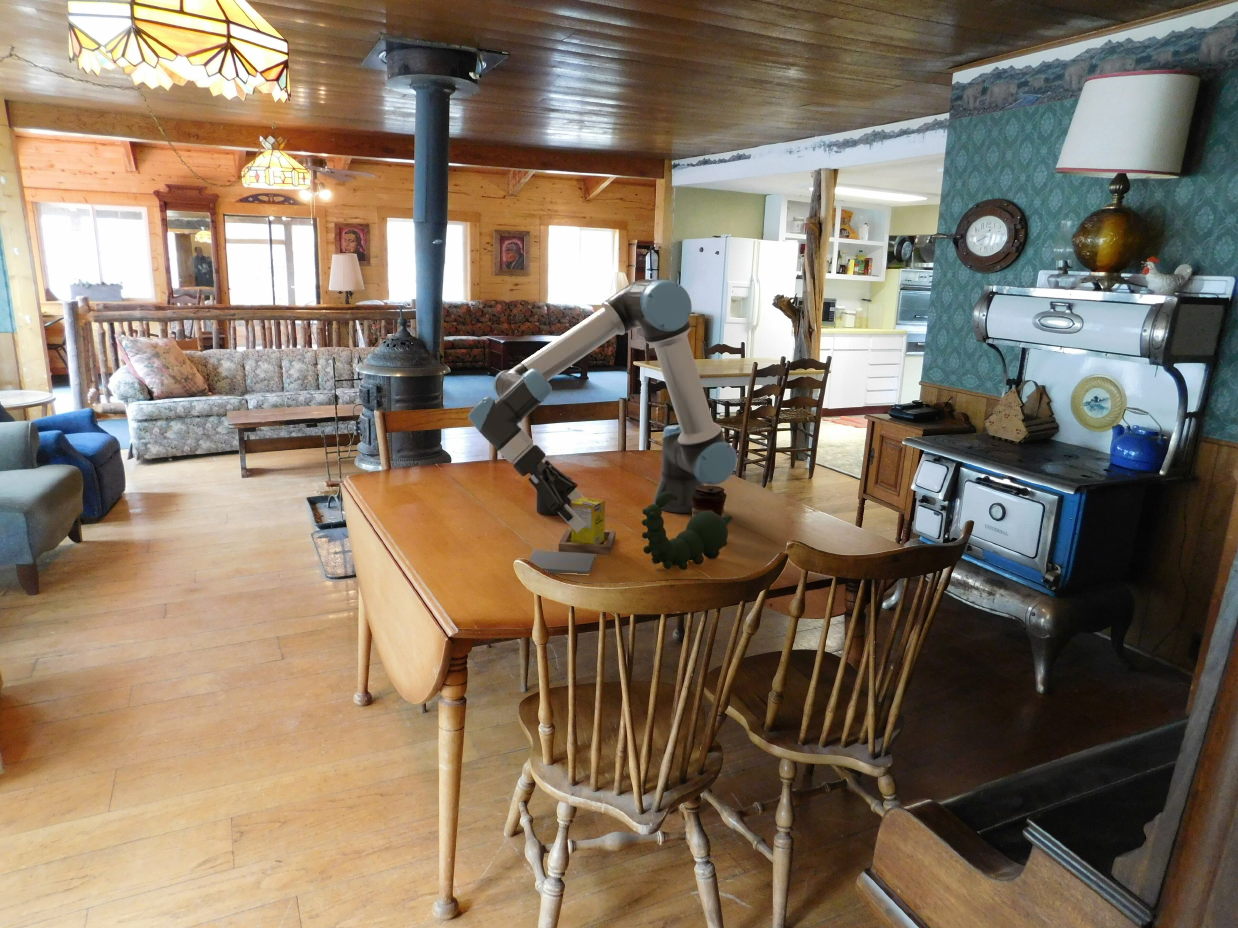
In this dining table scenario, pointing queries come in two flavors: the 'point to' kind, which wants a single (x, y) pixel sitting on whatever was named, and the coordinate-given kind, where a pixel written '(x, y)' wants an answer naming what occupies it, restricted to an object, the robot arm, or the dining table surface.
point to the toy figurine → (683, 536)
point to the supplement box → (589, 521)
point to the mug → (545, 510)
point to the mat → (563, 561)
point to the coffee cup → (708, 500)
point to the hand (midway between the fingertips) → (586, 519)
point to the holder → (587, 548)
